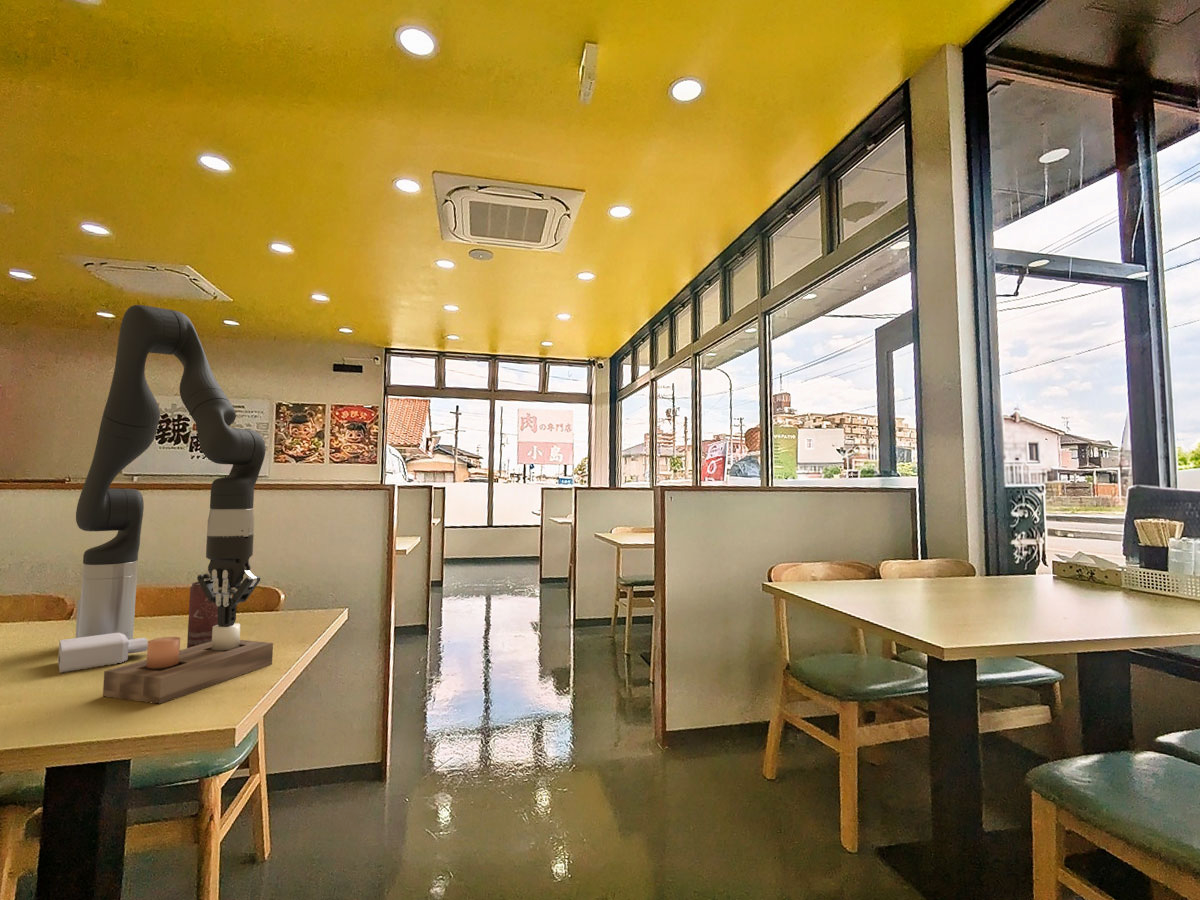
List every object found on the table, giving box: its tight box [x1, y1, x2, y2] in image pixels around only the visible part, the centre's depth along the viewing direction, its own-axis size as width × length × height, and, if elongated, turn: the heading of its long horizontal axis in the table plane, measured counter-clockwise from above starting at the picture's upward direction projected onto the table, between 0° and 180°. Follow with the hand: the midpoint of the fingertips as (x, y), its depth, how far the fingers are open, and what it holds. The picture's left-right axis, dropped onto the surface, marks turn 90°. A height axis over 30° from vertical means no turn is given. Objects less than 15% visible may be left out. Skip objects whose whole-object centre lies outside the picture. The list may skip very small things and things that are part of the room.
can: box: [186, 581, 222, 648], centre depth 123 cm, size 6×6×14 cm
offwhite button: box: [212, 623, 241, 651], centre depth 111 cm, size 4×4×4 cm
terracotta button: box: [146, 636, 181, 668], centre depth 99 cm, size 4×4×4 cm
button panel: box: [102, 639, 274, 705], centre depth 105 cm, size 12×22×4 cm, turn 165°
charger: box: [57, 633, 149, 674], centre depth 115 cm, size 5×9×15 cm
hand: (226, 625), depth 111 cm, fingers closed
